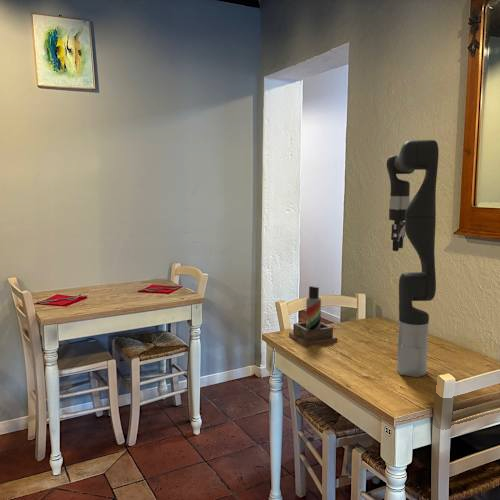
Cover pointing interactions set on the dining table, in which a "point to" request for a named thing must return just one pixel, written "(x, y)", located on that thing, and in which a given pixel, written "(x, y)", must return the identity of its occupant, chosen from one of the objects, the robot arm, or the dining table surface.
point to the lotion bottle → (313, 309)
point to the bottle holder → (312, 334)
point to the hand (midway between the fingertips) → (397, 249)
